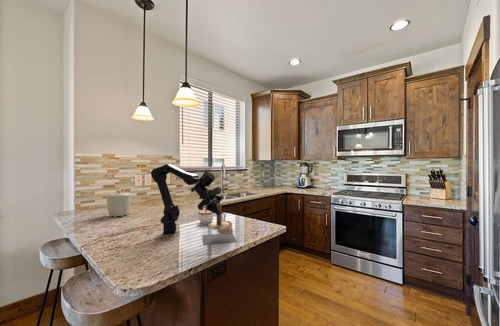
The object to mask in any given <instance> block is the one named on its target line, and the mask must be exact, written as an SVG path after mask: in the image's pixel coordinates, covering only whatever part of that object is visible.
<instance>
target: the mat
mask: <svg viewBox="0 0 500 326" xmlns="http://www.w3.org/2000/svg"><path fill="white" fill-rule="evenodd" d="M201 238H202V246H211V245H213V246H214V245H222V244H232V243H238V241H237V238H236V237H235V235H234V233H233V232H221V233H213V234H202V236H201Z"/></svg>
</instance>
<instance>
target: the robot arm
mask: <svg viewBox="0 0 500 326" xmlns="http://www.w3.org/2000/svg"><path fill="white" fill-rule="evenodd" d="M169 174H172V175H174V176H176V177H178V178H179V179H182V180H183V182H184V183H185V184H186V185H187V186H192V187H191V189H190V192H191V193H194V192H195V193H196V194H197V195H198V196H199V197H198V199H199V200H201V201H200V202H199V203H198V205H197V209H198V211H201V210H208V211H211V212H213V213H214V215H216V216H217V215H220V212H219V210H218V209H217V207H216V204H221V202H222V200H223V199H224V198H225V197H224V196H223V195H222V190H223V188H221V187H220V186H216V187H215V188H213V189H208V188H207V187H210V186H211V184H213V182H214V181H216V176H215V175H214V174H212V172H210V171H208V170H205V171H204V173H203V174H202V175H201V176H200V175H198V174H197V173H192V172H187V171H185V170H183V169H181V168H179V167H177V166H175V165H174V164H172V163H165V164H163V165H162V166H159V167H157V168H152V170H151V172H150V175H151V178H152V179H153V181H154V182H155V183H156V184H157V187H158V190H159V194H160V196H161V199H162V203H163V206H164V207H163V211H162V213H163V216H162V217H161V219H160V224H162V225H163V227H162V228H163V233H162V235H168V234H169V235H170V234H175V233H176V232H177V223H176V221H177V222H178V219H179V217H180V212H181V210H180V209H179V205H178V204H174V202H173V199H172V196H171V193H170V189H169V186H168V184H167V177H168V175H169ZM204 207H205V209H204ZM223 214H224V211H223V209H222V207H221V215H223Z"/></svg>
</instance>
